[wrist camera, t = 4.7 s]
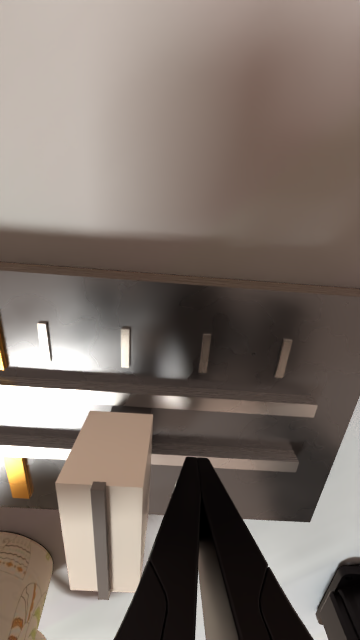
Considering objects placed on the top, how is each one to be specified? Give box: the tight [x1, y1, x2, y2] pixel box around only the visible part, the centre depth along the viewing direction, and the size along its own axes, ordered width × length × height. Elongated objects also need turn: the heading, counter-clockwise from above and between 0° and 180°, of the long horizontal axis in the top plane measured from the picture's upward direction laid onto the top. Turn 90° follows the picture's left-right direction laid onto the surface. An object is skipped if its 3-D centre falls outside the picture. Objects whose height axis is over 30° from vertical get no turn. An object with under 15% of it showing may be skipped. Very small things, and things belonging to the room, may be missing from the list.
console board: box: [0, 262, 360, 522], centre depth 11 cm, size 19×12×2 cm, turn 86°
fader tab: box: [55, 405, 153, 600], centre depth 9 cm, size 2×4×4 cm, turn 176°
